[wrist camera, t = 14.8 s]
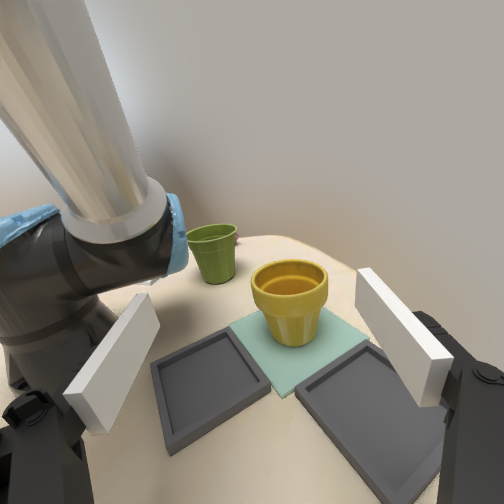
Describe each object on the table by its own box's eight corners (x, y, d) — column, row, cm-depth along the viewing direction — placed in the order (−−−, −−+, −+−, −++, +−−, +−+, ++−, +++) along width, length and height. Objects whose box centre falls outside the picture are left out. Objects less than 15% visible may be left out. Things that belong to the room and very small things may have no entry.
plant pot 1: (254, 275, 55) (247, 228, 50) (207, 297, 49) (195, 247, 45) (229, 260, 64) (221, 220, 59) (187, 277, 58) (175, 234, 54)
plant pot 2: (269, 306, 43) (263, 256, 39) (330, 312, 39) (330, 258, 35) (249, 350, 34) (238, 293, 30) (325, 364, 30) (324, 300, 26)
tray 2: (295, 395, 28) (294, 386, 27) (365, 347, 32) (365, 338, 32) (397, 522, 18) (399, 512, 17) (476, 426, 23) (480, 415, 22)
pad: (229, 327, 40) (228, 324, 40) (299, 293, 46) (299, 291, 46) (282, 399, 27) (281, 396, 27) (369, 340, 33) (369, 337, 33)
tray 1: (153, 371, 34) (149, 363, 33) (230, 333, 38) (228, 326, 38) (170, 456, 24) (166, 447, 23) (271, 391, 29) (270, 382, 28)
